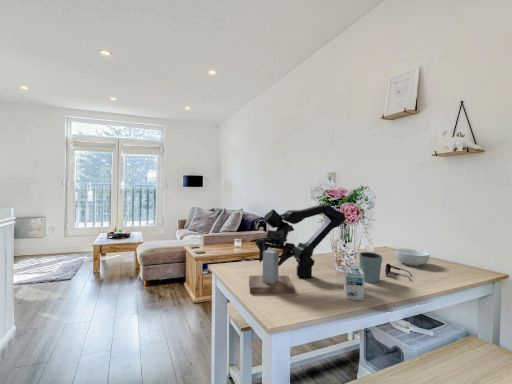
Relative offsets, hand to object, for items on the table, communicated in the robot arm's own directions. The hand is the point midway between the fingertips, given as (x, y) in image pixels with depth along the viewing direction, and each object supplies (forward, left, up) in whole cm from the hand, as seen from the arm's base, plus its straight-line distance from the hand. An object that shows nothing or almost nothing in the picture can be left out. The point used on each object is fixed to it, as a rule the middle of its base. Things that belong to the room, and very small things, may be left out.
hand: (269, 263), depth 120 cm
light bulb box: (-34, +8, -11) cm, 36 cm away
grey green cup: (-49, -9, -11) cm, 51 cm away
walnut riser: (-1, -1, -11) cm, 11 cm away
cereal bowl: (-85, -34, -11) cm, 92 cm away
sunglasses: (-66, -14, -11) cm, 68 cm away
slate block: (-1, -1, -8) cm, 8 cm away
